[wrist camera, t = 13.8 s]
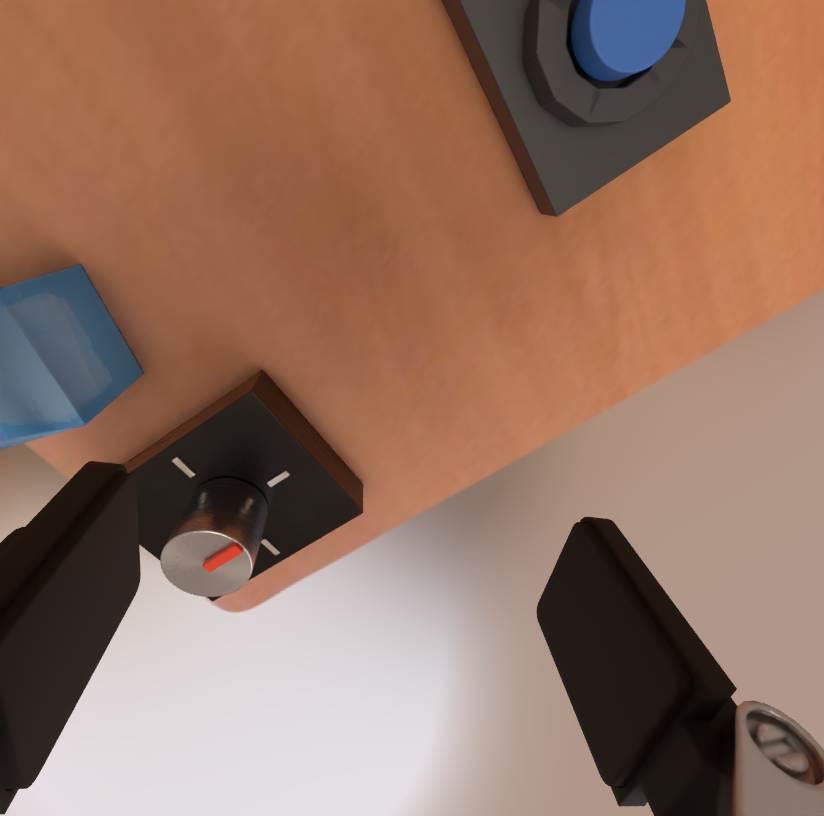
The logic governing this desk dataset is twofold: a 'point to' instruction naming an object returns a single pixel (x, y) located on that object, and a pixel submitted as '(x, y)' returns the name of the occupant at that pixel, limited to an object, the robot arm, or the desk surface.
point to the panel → (248, 471)
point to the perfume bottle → (57, 356)
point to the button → (623, 35)
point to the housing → (583, 94)
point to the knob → (216, 538)
